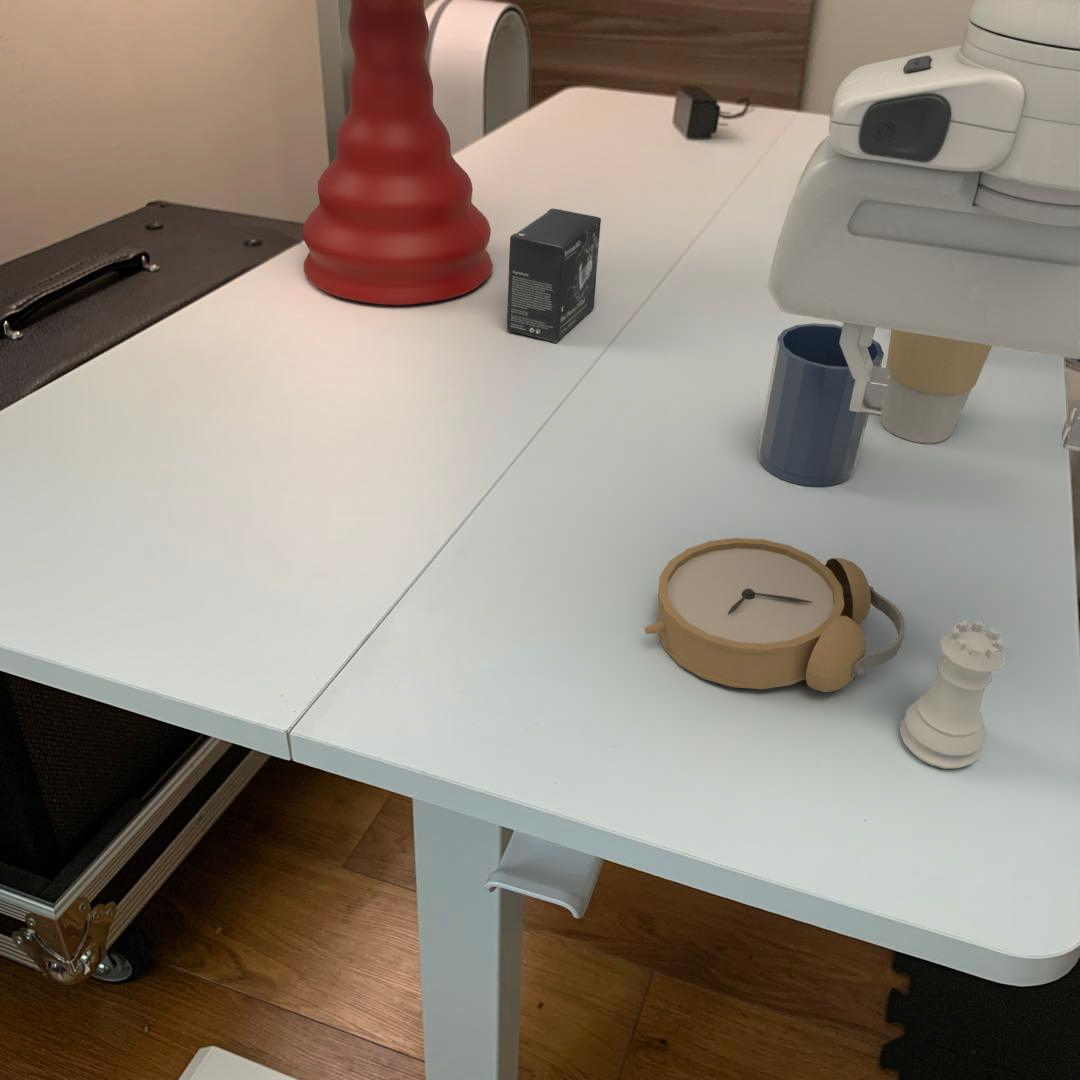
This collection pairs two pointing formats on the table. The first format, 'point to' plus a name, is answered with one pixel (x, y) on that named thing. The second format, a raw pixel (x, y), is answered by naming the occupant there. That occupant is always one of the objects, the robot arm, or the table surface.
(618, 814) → the table surface
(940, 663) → the rook chess piece
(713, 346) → the table surface
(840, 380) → the tumbler
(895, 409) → the coffee cup
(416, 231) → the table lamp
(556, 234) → the box
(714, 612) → the alarm clock
